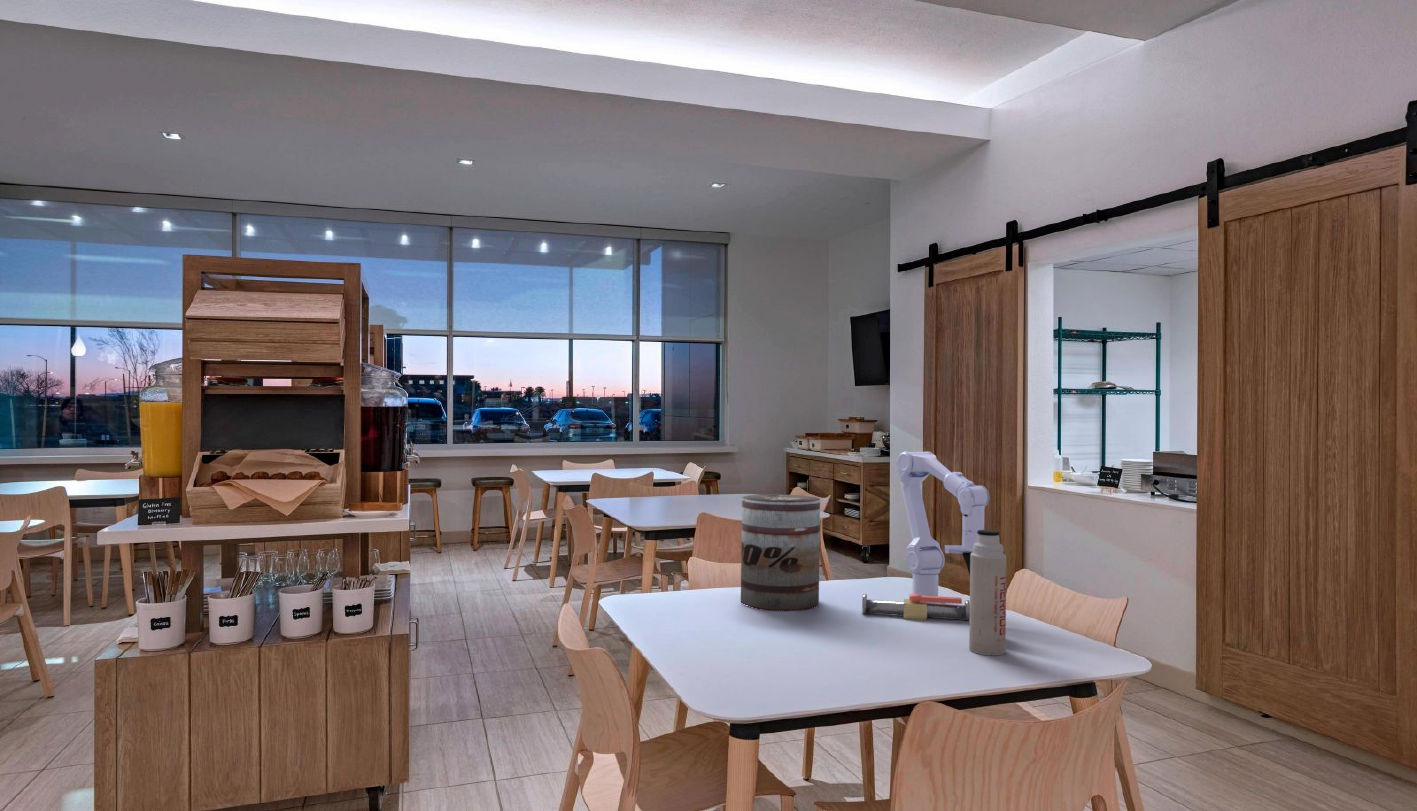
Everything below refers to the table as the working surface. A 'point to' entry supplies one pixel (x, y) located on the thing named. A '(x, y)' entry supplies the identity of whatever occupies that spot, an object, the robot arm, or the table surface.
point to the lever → (934, 599)
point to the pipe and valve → (916, 609)
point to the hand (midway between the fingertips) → (972, 581)
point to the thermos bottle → (987, 595)
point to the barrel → (780, 552)
